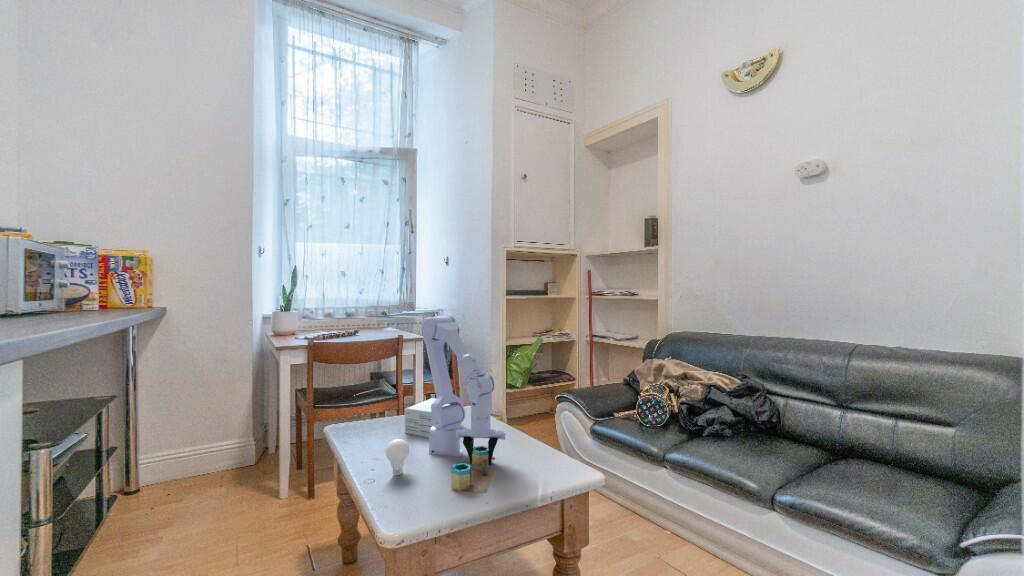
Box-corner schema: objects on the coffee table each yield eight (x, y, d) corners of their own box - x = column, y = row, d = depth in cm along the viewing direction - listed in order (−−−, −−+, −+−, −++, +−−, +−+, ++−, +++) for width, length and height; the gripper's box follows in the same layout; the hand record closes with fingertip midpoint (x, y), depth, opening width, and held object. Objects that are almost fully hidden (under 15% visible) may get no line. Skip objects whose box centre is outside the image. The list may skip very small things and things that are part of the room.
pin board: (451, 496, 111) (451, 475, 111) (462, 474, 124) (462, 455, 124) (486, 498, 110) (486, 476, 110) (493, 475, 123) (493, 456, 123)
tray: (466, 473, 125) (466, 467, 125) (471, 462, 133) (471, 456, 133) (490, 474, 125) (490, 467, 124) (494, 462, 132) (494, 456, 132)
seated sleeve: (449, 490, 111) (449, 471, 111) (454, 481, 117) (454, 462, 117) (468, 491, 111) (468, 472, 111) (472, 481, 116) (472, 463, 116)
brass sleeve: (471, 469, 126) (471, 452, 126) (474, 461, 132) (474, 445, 132) (487, 470, 126) (487, 452, 126) (490, 462, 131) (490, 445, 131)
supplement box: (434, 439, 154) (434, 412, 154) (404, 433, 159) (404, 408, 159) (459, 424, 169) (459, 400, 169) (431, 420, 175) (431, 397, 175)
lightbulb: (397, 485, 118) (396, 445, 118) (380, 480, 121) (380, 440, 121) (414, 476, 123) (413, 437, 123) (398, 471, 126) (397, 433, 126)
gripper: (453, 420, 125) (453, 467, 126) (503, 421, 124) (503, 469, 124) (458, 412, 132) (459, 457, 133) (506, 414, 131) (506, 459, 131)
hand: (480, 462), depth 129 cm, fingers closed on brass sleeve, 5 cm apart
